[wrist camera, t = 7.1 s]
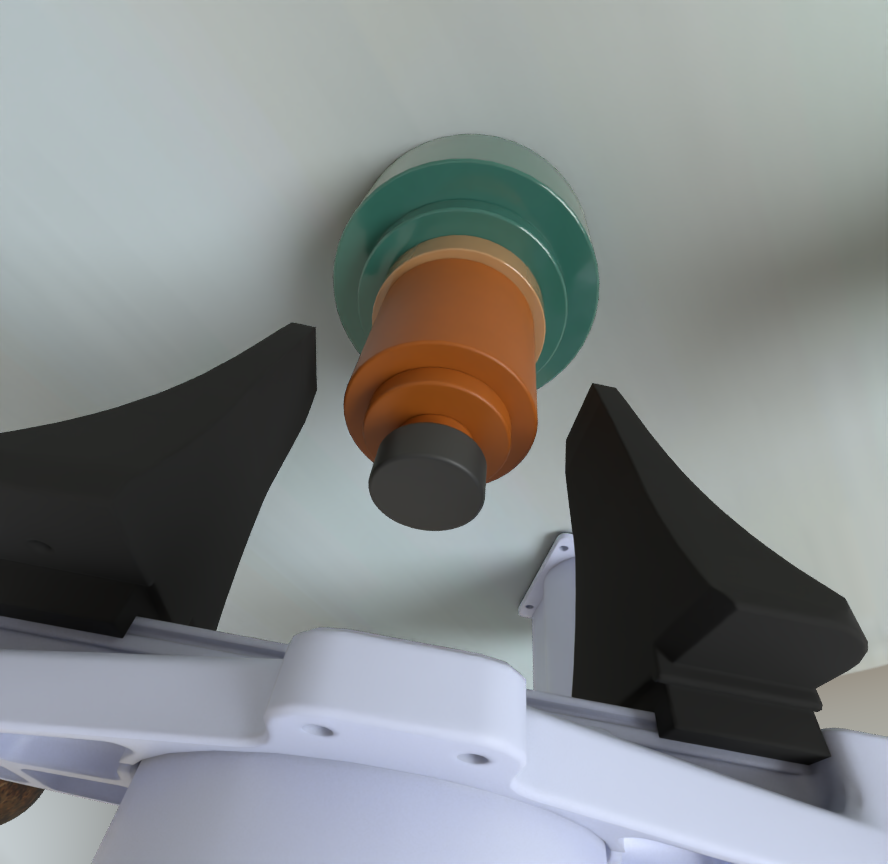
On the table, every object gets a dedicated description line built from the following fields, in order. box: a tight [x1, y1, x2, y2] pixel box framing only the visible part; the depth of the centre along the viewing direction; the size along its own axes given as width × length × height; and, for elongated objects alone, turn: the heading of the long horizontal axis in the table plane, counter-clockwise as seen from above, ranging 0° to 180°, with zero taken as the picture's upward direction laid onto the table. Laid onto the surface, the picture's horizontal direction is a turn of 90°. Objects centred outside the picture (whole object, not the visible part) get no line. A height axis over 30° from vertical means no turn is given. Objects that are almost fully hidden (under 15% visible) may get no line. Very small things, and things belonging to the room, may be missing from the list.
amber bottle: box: [344, 258, 538, 531], centre depth 12 cm, size 5×5×6 cm
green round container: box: [333, 134, 599, 390], centre depth 17 cm, size 9×9×5 cm
